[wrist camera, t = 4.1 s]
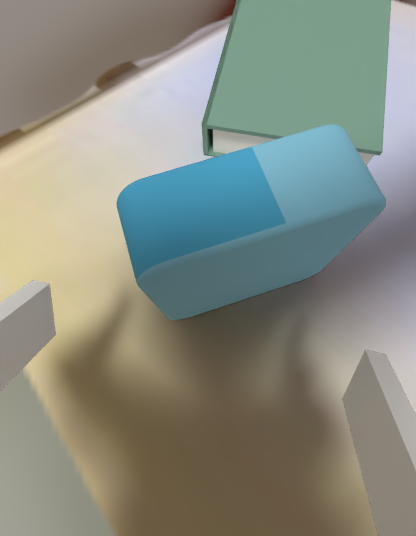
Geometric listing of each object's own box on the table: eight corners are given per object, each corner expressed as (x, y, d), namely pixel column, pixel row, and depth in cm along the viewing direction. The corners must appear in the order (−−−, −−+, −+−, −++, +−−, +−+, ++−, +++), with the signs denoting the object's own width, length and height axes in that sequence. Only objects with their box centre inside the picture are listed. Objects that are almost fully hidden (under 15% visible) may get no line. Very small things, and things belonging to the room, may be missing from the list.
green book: (371, 30, 33) (391, -13, 29) (359, 182, 27) (382, 151, 24) (241, 15, 34) (244, -29, 31) (203, 156, 29) (201, 123, 25)
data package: (295, 226, 26) (355, 113, 15) (317, 275, 25) (404, 192, 13) (156, 270, 25) (105, 186, 14) (171, 323, 24) (128, 279, 12)
